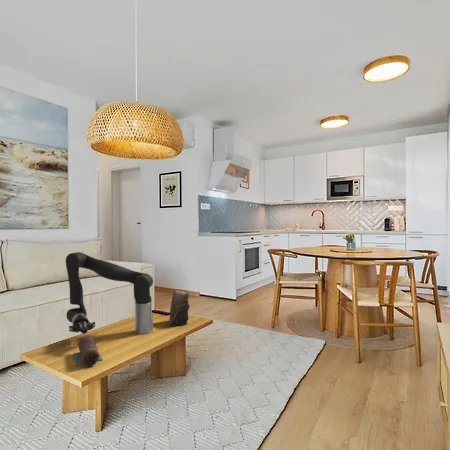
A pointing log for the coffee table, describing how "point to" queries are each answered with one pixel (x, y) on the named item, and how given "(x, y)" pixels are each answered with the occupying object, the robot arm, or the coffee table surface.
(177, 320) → the dark brown rough block
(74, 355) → the mat
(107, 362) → the coffee table surface
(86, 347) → the reddish brown cylinder
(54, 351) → the coffee table surface
